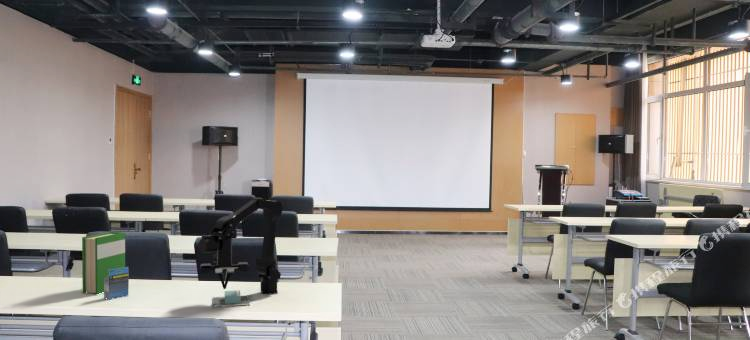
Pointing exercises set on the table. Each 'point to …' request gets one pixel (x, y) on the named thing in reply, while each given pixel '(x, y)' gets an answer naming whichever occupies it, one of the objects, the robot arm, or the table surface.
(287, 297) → the table surface
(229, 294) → the block
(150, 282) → the table surface
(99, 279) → the hardback book
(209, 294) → the table surface
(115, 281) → the label tape box
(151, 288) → the table surface
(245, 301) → the mat
